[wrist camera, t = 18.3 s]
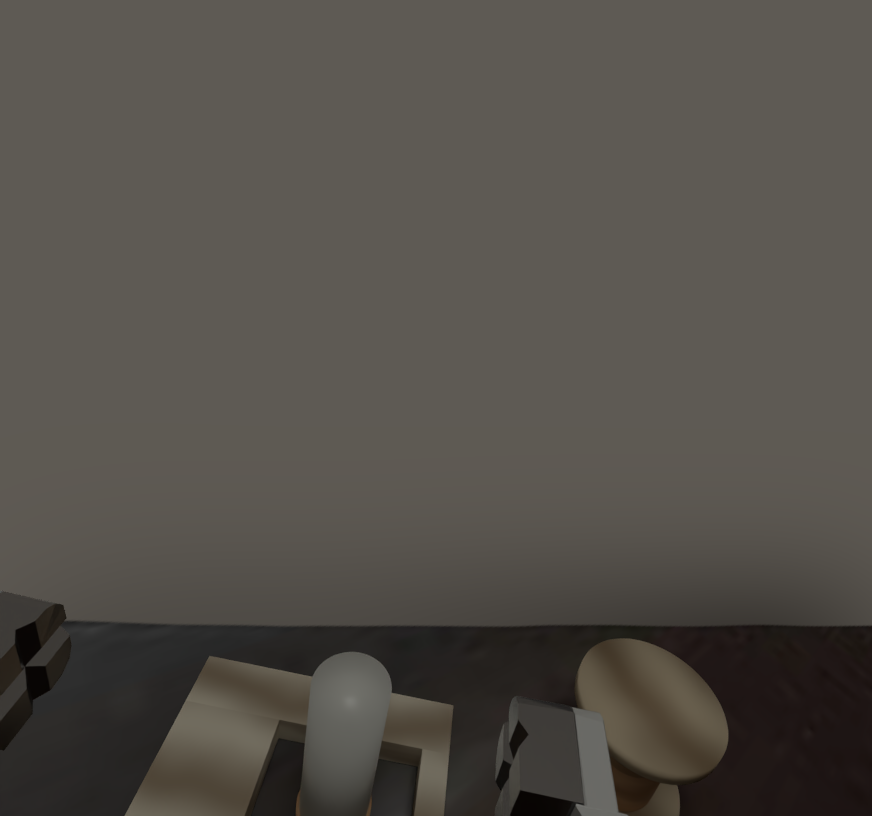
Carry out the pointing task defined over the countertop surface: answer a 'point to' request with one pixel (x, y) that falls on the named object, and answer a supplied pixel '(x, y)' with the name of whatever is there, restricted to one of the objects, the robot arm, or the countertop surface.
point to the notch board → (272, 742)
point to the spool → (651, 722)
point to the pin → (343, 735)
